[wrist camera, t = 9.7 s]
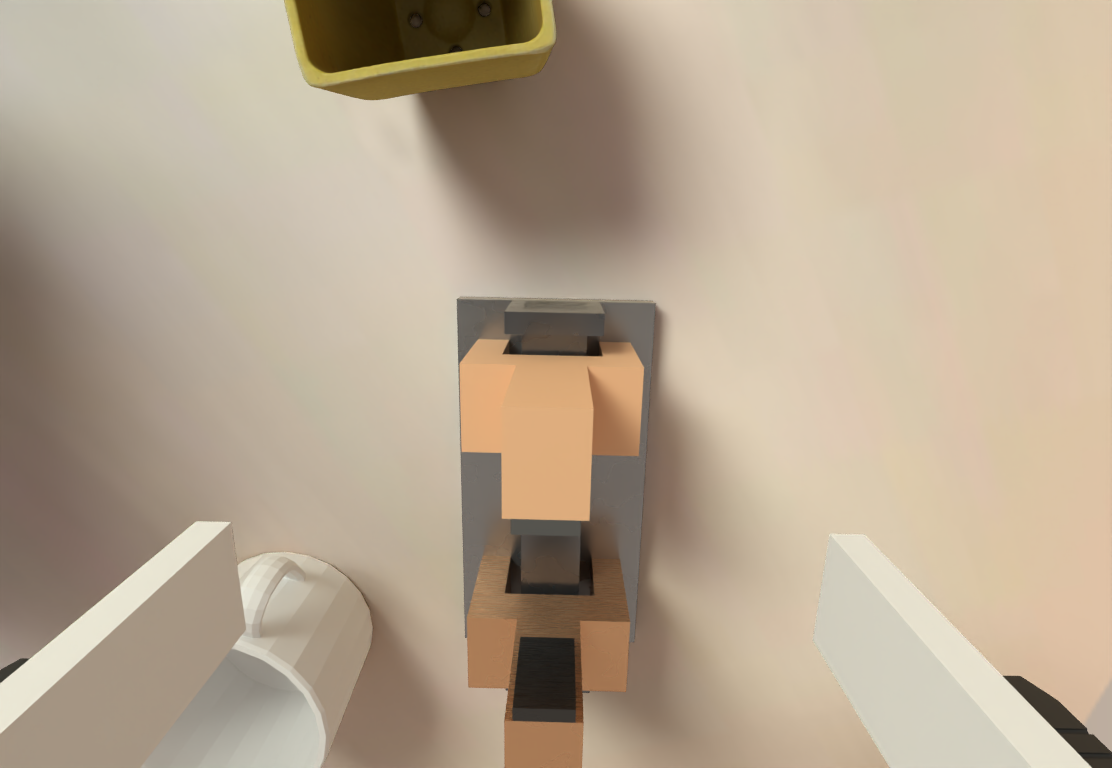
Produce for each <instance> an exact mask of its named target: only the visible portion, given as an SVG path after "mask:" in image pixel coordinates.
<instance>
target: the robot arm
mask: <svg viewBox="0 0 1112 768" xmlns="http://www.w3.org/2000/svg"><path fill="white" fill-rule="evenodd" d="M245 630H246V624H245V617H244V610H243V602H242V595H241V588H240V581H239V574H238V567H237V560H236V553H235V545H234V538H233V531H232V524H231V522H205V521H196V522H195V523H194V524H192V525H191V526H190V527H189V528H188V529H186V530H185V531H184V532H183V533H182V534H180V535H179V536H178V537H177V538H176V539H174V540H173V541H172V542H171V543H170V544H168V545H167V546H166V547H165V548H163V549H162V550H161V551H160V552H159V553H157V554H156V555H155V556H154V557H153V558H151V559H150V560H149V561H148V562H147V563H145V564H144V565H143V566H142V567H140V568H139V569H138V570H137V571H136V572H134V573H133V574H132V575H131V576H130V577H128V578H127V579H126V580H125V581H124V582H122V583H121V584H120V585H119V586H117V587H116V588H115V589H114V590H113V591H111V592H110V593H109V594H108V595H107V596H105V597H104V598H103V599H102V600H101V601H99V602H98V603H97V604H96V605H95V606H93V607H92V608H91V609H90V610H88V611H87V612H86V613H85V614H84V615H82V616H81V617H80V618H79V619H78V620H76V621H75V622H74V623H73V624H72V625H70V626H69V627H68V628H67V629H65V630H64V631H63V632H62V633H61V634H59V635H58V636H57V637H56V638H55V639H53V640H52V641H51V642H50V643H49V644H47V645H46V646H45V647H44V648H43V649H41V650H40V651H39V652H38V653H36V654H35V655H34V656H33V657H32V658H30V659H19V660H17V661H16V662H14V663H12V664H10V665H8V666H7V667H5V668H3V669H1V670H0V768H140V767H141V766H142V765H143V763H144V762H145V761H146V760H147V758H148V757H149V756H150V754H151V753H152V752H153V750H154V749H155V748H156V746H157V745H158V744H159V743H160V741H161V740H162V739H163V737H164V736H165V735H166V733H167V732H168V731H169V730H170V728H171V727H172V726H173V724H174V723H175V722H176V720H177V719H178V718H179V716H180V715H181V714H182V713H183V711H184V710H185V709H186V707H187V706H188V705H189V703H190V702H191V701H192V700H193V698H194V697H195V696H196V694H197V693H198V692H199V690H200V689H201V688H202V686H203V685H204V684H205V683H206V681H207V680H208V679H209V677H210V676H211V675H212V673H213V672H214V671H215V670H216V668H217V667H218V666H219V664H220V663H221V662H222V660H223V659H224V658H225V656H226V655H227V654H228V653H229V651H230V650H231V649H232V647H233V646H234V645H235V643H236V642H237V641H238V640H239V638H240V637H241V636H242V634H243V633H244V632H245ZM813 642H814V643H815V645H816V647H817V648H818V650H819V652H820V653H821V655H822V657H823V658H824V660H825V662H826V663H827V665H828V667H829V668H830V670H831V672H832V673H833V675H834V676H835V678H836V680H837V681H838V683H839V685H840V686H841V688H842V690H843V691H844V693H845V695H846V696H847V698H848V700H849V701H850V703H851V705H852V706H853V708H854V710H855V711H856V713H857V715H858V716H859V718H860V719H861V721H862V723H863V724H864V726H865V728H866V729H867V731H868V733H869V734H870V736H871V738H872V739H873V741H874V743H875V744H876V746H877V748H878V749H879V751H880V753H881V754H882V756H883V758H884V759H885V761H886V762H887V764H888V766H889V767H890V768H1112V752H1111V751H1110V750H1109V749H1107V747H1106V746H1105V745H1103V744H1102V743H1101V742H1100V741H1099V740H1098V739H1097V738H1096V737H1095V736H1094V735H1091V734H1088V732H1087V728H1086V727H1085V726H1084V725H1083V724H1082V723H1081V722H1080V721H1079V720H1078V719H1076V718H1075V717H1074V716H1073V715H1072V714H1071V713H1070V712H1069V711H1068V710H1067V709H1066V708H1065V707H1064V706H1063V705H1062V704H1061V703H1060V702H1059V701H1058V700H1056V699H1055V698H1053V697H1052V696H1050V695H1049V694H1047V693H1046V692H1044V691H1042V690H1041V689H1039V688H1038V687H1036V686H1035V685H1033V684H1032V683H1030V682H1029V681H1027V680H1026V679H1024V678H1022V677H1021V676H1002V675H1001V674H1000V673H999V672H998V671H997V670H996V669H995V668H994V667H993V666H992V665H991V664H990V663H989V662H988V661H987V660H986V659H985V658H984V657H983V656H982V654H981V653H980V652H979V651H978V650H977V649H976V648H975V647H974V646H973V645H972V644H971V643H970V642H969V641H968V640H967V639H966V638H965V637H964V636H963V635H962V634H961V633H960V632H959V631H958V630H957V629H956V628H955V627H954V626H953V625H952V624H951V623H950V622H949V621H948V620H947V619H946V618H945V617H944V616H943V614H942V613H941V612H940V611H939V610H938V609H937V608H936V607H935V606H934V605H933V604H932V603H931V602H930V601H929V600H928V599H927V598H926V597H925V596H924V595H923V594H922V593H921V592H920V591H919V590H918V589H917V588H916V587H915V586H914V585H913V584H912V583H911V582H910V581H909V580H908V579H907V578H906V577H905V575H904V574H903V573H902V572H901V571H900V570H899V569H898V568H897V567H896V566H895V565H894V564H893V563H892V562H891V561H890V560H889V559H888V558H887V557H886V556H885V555H884V554H883V553H882V552H881V551H880V550H879V549H878V548H877V547H876V546H875V545H874V544H873V543H872V542H871V541H870V540H869V539H868V538H867V537H866V535H865V534H829V540H828V547H827V553H826V559H825V566H824V572H823V578H822V585H821V591H820V597H819V604H818V610H817V616H816V623H815V629H814V635H813Z"/></svg>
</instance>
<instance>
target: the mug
mask: <svg viewBox="0 0 1112 768" xmlns="http://www.w3.org/2000/svg"><path fill="white" fill-rule="evenodd" d="M237 567H238V574H239V581H240V588H241V595H242V602H243V610H244V617H245V624H246V630H245V632H244V633H243V634H242V636H241V637H240V638H239V640H238V641H237V642H236V643H235V645H234V646H233V647H232V649H231V650H230V651H229V653H228V654H227V655H226V656H225V658H224V659H223V660H222V662H221V663H220V664H219V666H218V667H217V668H216V670H215V671H214V672H213V673H212V675H211V676H210V677H209V679H208V680H207V681H206V683H205V684H204V685H203V686H202V688H201V689H200V690H199V692H198V693H197V694H196V696H195V697H194V698H193V700H192V701H191V702H190V703H189V705H188V706H187V707H186V709H185V710H184V711H183V713H182V714H181V715H180V716H179V718H178V719H177V720H176V722H175V723H174V724H173V726H172V727H171V728H170V730H169V731H168V732H167V733H166V735H165V736H164V737H163V739H162V740H161V741H160V743H159V744H158V745H157V746H156V748H155V749H154V750H153V752H152V753H151V754H150V756H149V757H148V758H147V760H146V761H145V762H144V763H143V765H142V766H141V767H140V768H322V766H323V764H324V762H325V760H326V758H327V756H328V753H329V751H330V748H331V746H332V743H333V740H334V738H335V735H336V733H337V730H338V728H339V725H340V723H341V720H342V718H343V715H344V713H345V710H346V707H347V705H348V702H349V700H350V697H351V695H352V692H353V690H354V687H355V685H356V682H357V679H358V677H359V674H360V672H361V669H362V667H363V664H364V662H365V659H366V657H367V654H368V651H369V649H370V647H371V640H372V632H373V626H372V621H371V615H370V610H369V608H368V606H367V604H366V602H365V600H364V598H363V596H362V594H361V592H360V591H359V590H358V589H357V588H356V587H355V585H354V584H353V583H352V582H351V581H350V580H349V579H348V577H346V576H345V575H344V574H342V573H341V572H339V571H338V570H337V569H335V568H334V567H332V566H331V565H330V564H328V563H325V562H323V561H320V560H318V559H316V558H313V557H311V556H308V555H302V554H296V553H291V552H276V553H264V554H261V555H258V556H255V557H252V558H249V559H246V560H244V561H243V562H241V563H240V564H238V565H237Z"/></svg>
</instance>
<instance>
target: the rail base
mask: <svg viewBox="0 0 1112 768" xmlns="http://www.w3.org/2000/svg"><path fill="white" fill-rule="evenodd" d="M655 304H656V303H655V302H654V301H638V300H590V299H542V298H495V297H459V298H458V299H457V324H458V365H459V405H460V362H461V361H462V360H463V358H464V357H465V356H466V354H467V353H468V352H469V350H470V349H471V348H472V346H473V345H474V344H475V343H476V341H477V340H478V339H493V340H509V355H555V356H599V342H630V343H631V345H632V346H633V348H634V350H635V352H636V354H637V356H638V357H639V359H640V361H641V363H642V365H643V367H644V377H643V394H642V411H641V428H640V445H639V456H611V455H592V465H591V492H590V519H589V521H581V525H580V536H545V535H511V519H502V467H501V453H485V452H462V447H461V486H462V527H463V567H464V608H465V638H467V643H468V686H469V687H474V688H506V690H508V696H507V704H506V713H505V721H504V726H505V768H582V749H583V695H582V693H589V692H590V691H618V692H626V684H627V668H628V651H629V642H634V639H635V623H636V607H637V591H638V575H639V559H640V543H641V527H642V511H643V495H644V480H645V464H646V448H647V432H648V416H649V400H650V384H651V368H652V352H653V336H654V320H655ZM460 446H461V405H460Z"/></svg>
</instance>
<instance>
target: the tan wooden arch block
mask: <svg viewBox="0 0 1112 768" xmlns="http://www.w3.org/2000/svg"><path fill="white" fill-rule="evenodd" d="M643 377H644V367H643V365H642V363H641V361H640V359H639V357H638V356H637V354H636V352H635V350H634V348H633V346H632V345H631V343H630V342H599V356H555V355H509V340H493V339H478V340H477V341H476V343H475V344H474V345H473V346H472V348H471V349H470V350H469V352H468V353H467V354H466V356H465V357H464V358H463V360H462V361H461V362H460V405H461V447H462V452H485V453H501V467H502V519H511V535H545V536H580V525H581V521H589V519H590V492H591V465H592V455H611V456H639V445H640V428H641V411H642V394H643Z"/></svg>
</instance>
